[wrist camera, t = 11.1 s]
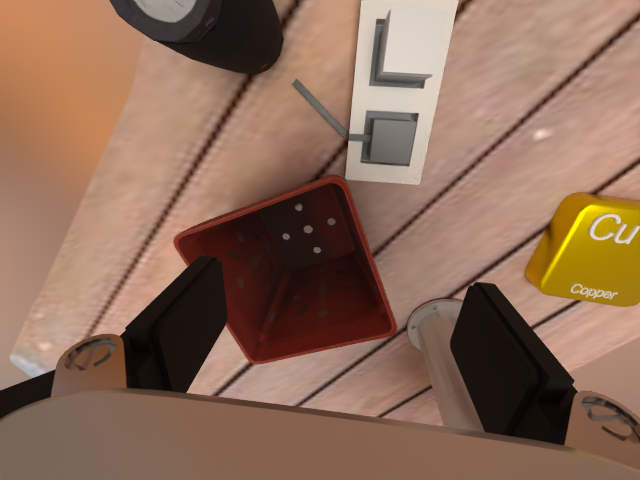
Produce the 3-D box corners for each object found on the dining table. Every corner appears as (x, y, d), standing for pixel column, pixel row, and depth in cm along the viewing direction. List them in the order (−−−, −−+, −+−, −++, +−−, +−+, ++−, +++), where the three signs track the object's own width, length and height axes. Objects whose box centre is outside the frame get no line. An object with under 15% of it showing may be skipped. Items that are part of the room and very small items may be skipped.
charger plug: (423, 34, 32) (448, 9, 24) (414, 83, 34) (435, 75, 26) (380, 32, 32) (390, 6, 24) (374, 81, 35) (381, 72, 26)
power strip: (450, 3, 31) (473, -22, 25) (414, 179, 40) (426, 192, 34) (293, -2, 32) (281, -27, 26) (292, 170, 41) (282, 181, 35)
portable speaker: (296, 68, 35) (243, 30, 18) (228, 84, 37) (119, 63, 19) (280, -17, 32) (194, -168, 14) (206, 5, 33) (47, -108, 16)
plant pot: (346, 148, 39) (344, 174, 24) (383, 261, 46) (400, 335, 31) (231, 193, 44) (167, 238, 28) (280, 289, 51) (251, 366, 35)
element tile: (518, 278, 45) (536, 295, 41) (565, 189, 39) (591, 199, 35) (612, 292, 45) (639, 312, 41) (675, 205, 38) (716, 217, 34)
